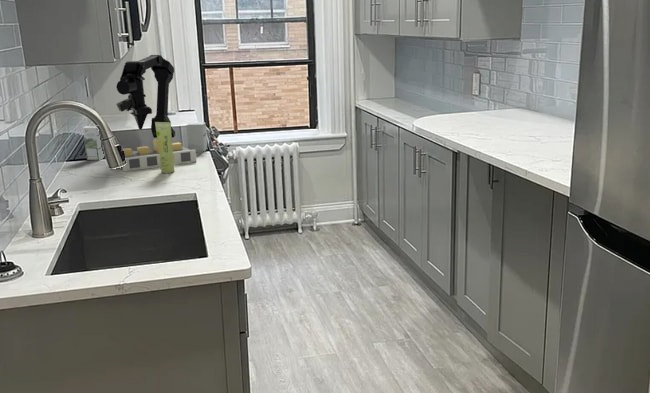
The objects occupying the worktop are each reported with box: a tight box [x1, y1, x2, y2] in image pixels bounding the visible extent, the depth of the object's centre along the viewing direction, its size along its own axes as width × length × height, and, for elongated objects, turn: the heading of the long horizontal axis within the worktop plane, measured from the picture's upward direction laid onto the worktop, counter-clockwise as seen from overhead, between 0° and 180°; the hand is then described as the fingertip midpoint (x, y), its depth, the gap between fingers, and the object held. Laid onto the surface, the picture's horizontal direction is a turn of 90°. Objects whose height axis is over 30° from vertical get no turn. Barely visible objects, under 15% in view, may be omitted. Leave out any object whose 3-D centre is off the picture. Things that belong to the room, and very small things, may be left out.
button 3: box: [136, 145, 150, 155], centre depth 255 cm, size 4×4×6 cm
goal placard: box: [122, 150, 197, 172], centre depth 248 cm, size 1×30×5 cm, turn 121°
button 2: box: [152, 138, 159, 153], centre depth 258 cm, size 4×4×6 cm
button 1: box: [172, 142, 183, 151], centre depth 262 cm, size 4×4×6 cm
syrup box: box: [82, 125, 105, 161], centre depth 263 cm, size 6×6×14 cm
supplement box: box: [186, 121, 208, 153], centre depth 277 cm, size 7×7×13 cm
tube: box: [155, 122, 175, 174], centre depth 236 cm, size 6×5×20 cm
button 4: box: [122, 147, 133, 157], centre depth 252 cm, size 4×4×6 cm
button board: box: [120, 145, 190, 170], centre depth 257 cm, size 14×30×4 cm, turn 122°
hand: (140, 129), depth 259 cm, fingers closed
